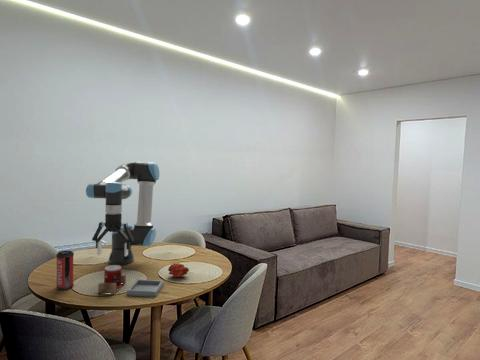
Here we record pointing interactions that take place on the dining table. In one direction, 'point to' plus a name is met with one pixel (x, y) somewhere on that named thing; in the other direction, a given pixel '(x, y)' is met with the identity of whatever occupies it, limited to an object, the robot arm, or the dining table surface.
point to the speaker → (64, 270)
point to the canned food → (113, 275)
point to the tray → (145, 288)
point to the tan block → (110, 286)
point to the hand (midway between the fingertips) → (112, 255)
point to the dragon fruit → (178, 270)
